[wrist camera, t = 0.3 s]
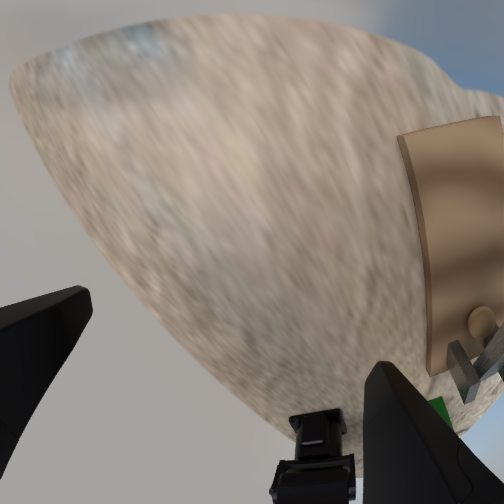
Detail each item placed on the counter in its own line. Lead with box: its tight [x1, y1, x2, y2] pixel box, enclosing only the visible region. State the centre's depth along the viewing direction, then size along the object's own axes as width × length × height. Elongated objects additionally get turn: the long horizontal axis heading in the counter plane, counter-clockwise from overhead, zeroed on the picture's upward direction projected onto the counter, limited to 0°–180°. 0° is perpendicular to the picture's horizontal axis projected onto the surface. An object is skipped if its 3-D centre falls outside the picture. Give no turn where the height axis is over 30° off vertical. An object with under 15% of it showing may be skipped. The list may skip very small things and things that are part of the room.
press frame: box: [446, 323, 504, 405], centre depth 17 cm, size 3×6×6 cm, turn 113°
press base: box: [397, 116, 504, 377], centre depth 18 cm, size 24×10×2 cm, turn 22°
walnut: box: [468, 306, 495, 339], centre depth 17 cm, size 3×3×3 cm
